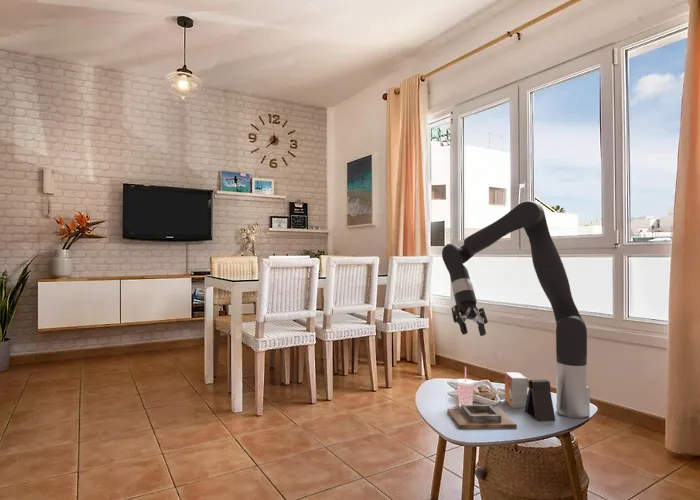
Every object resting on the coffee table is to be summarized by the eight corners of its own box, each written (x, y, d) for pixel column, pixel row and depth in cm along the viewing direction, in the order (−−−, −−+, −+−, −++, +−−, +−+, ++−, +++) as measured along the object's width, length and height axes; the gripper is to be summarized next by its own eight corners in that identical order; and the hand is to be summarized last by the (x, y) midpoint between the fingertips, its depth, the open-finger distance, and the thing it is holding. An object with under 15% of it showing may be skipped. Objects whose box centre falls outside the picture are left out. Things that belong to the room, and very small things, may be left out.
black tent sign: (555, 421, 142) (555, 384, 142) (537, 421, 141) (537, 384, 142) (541, 411, 151) (541, 376, 151) (524, 411, 150) (524, 376, 151)
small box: (504, 400, 162) (504, 371, 162) (519, 400, 162) (519, 372, 162) (511, 407, 154) (511, 377, 154) (527, 408, 154) (527, 378, 154)
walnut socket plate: (499, 412, 150) (499, 402, 150) (516, 428, 136) (516, 417, 136) (447, 412, 149) (447, 403, 149) (459, 428, 135) (459, 418, 135)
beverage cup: (458, 402, 160) (458, 364, 160) (475, 404, 157) (475, 365, 157) (455, 407, 154) (455, 367, 154) (473, 410, 151) (472, 369, 152)
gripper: (455, 287, 158) (466, 330, 150) (484, 290, 164) (496, 332, 156) (442, 295, 163) (452, 337, 155) (471, 298, 170) (481, 339, 162)
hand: (474, 334), depth 156 cm, fingers open, 8 cm apart
